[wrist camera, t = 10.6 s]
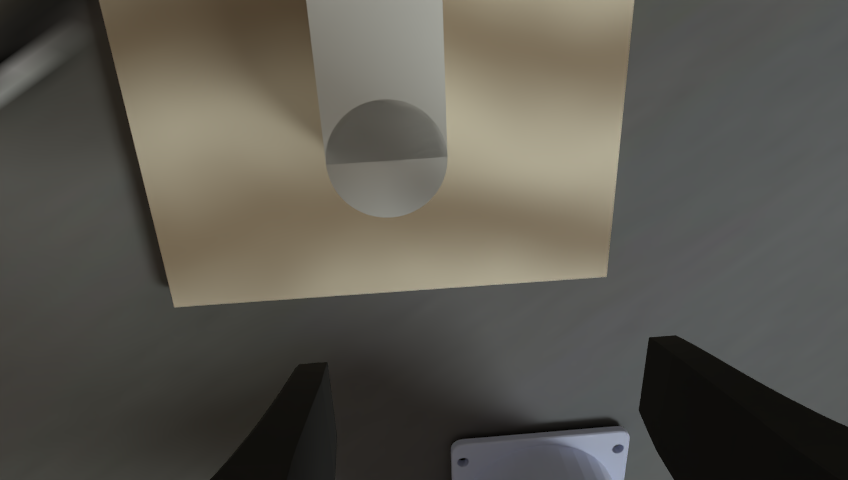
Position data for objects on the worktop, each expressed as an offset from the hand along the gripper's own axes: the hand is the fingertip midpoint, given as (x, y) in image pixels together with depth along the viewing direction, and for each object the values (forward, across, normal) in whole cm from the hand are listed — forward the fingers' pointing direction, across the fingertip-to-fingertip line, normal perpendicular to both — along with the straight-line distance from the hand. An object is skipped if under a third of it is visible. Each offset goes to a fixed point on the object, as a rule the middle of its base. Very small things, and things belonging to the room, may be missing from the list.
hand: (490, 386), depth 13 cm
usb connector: (+8, +2, -8) cm, 12 cm away
